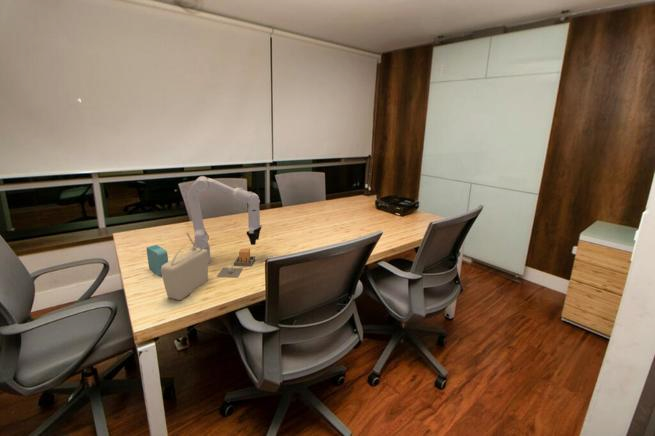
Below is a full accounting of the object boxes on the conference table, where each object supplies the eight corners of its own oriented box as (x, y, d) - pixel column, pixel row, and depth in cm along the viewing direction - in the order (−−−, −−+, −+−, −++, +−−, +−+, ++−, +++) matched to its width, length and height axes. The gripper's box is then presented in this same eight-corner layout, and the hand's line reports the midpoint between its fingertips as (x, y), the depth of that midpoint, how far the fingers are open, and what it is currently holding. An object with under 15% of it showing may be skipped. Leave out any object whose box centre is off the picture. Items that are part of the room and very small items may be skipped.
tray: (234, 267, 162) (233, 262, 161) (238, 260, 171) (238, 255, 170) (251, 267, 162) (251, 263, 162) (255, 260, 171) (255, 256, 170)
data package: (169, 274, 153) (167, 250, 149) (160, 277, 150) (157, 253, 146) (158, 266, 160) (155, 243, 157) (149, 269, 157) (145, 246, 153)
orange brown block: (248, 265, 164) (247, 252, 162) (239, 264, 164) (238, 251, 162) (250, 261, 168) (250, 248, 166) (241, 261, 168) (241, 248, 166)
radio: (196, 277, 151) (191, 226, 144) (211, 280, 149) (207, 228, 142) (160, 300, 131) (152, 242, 124) (177, 304, 128) (170, 245, 121)
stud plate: (216, 278, 150) (215, 269, 149) (223, 269, 160) (222, 261, 158) (237, 279, 150) (237, 270, 149) (243, 269, 160) (243, 261, 158)
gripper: (258, 221, 159) (259, 247, 162) (264, 213, 172) (265, 237, 176) (244, 221, 159) (245, 246, 162) (251, 213, 172) (252, 237, 176)
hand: (254, 242), depth 169 cm, fingers open, 7 cm apart
